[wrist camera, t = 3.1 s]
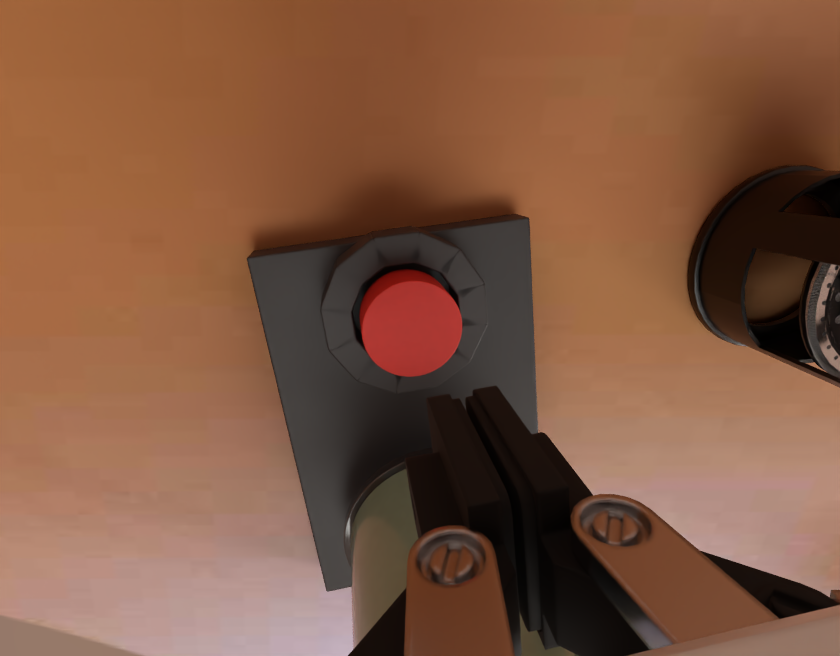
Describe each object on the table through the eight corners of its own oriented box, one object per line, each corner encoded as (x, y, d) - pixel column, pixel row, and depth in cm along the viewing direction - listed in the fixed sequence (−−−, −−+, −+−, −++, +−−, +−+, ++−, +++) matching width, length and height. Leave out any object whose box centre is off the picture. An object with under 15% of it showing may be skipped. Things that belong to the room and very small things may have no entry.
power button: (352, 276, 19) (353, 289, 17) (446, 262, 20) (457, 273, 18) (366, 364, 21) (370, 384, 19) (454, 349, 21) (466, 368, 19)
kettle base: (251, 242, 21) (235, 257, 18) (516, 205, 23) (546, 213, 19) (327, 567, 27) (325, 622, 24) (531, 523, 29) (556, 570, 25)
